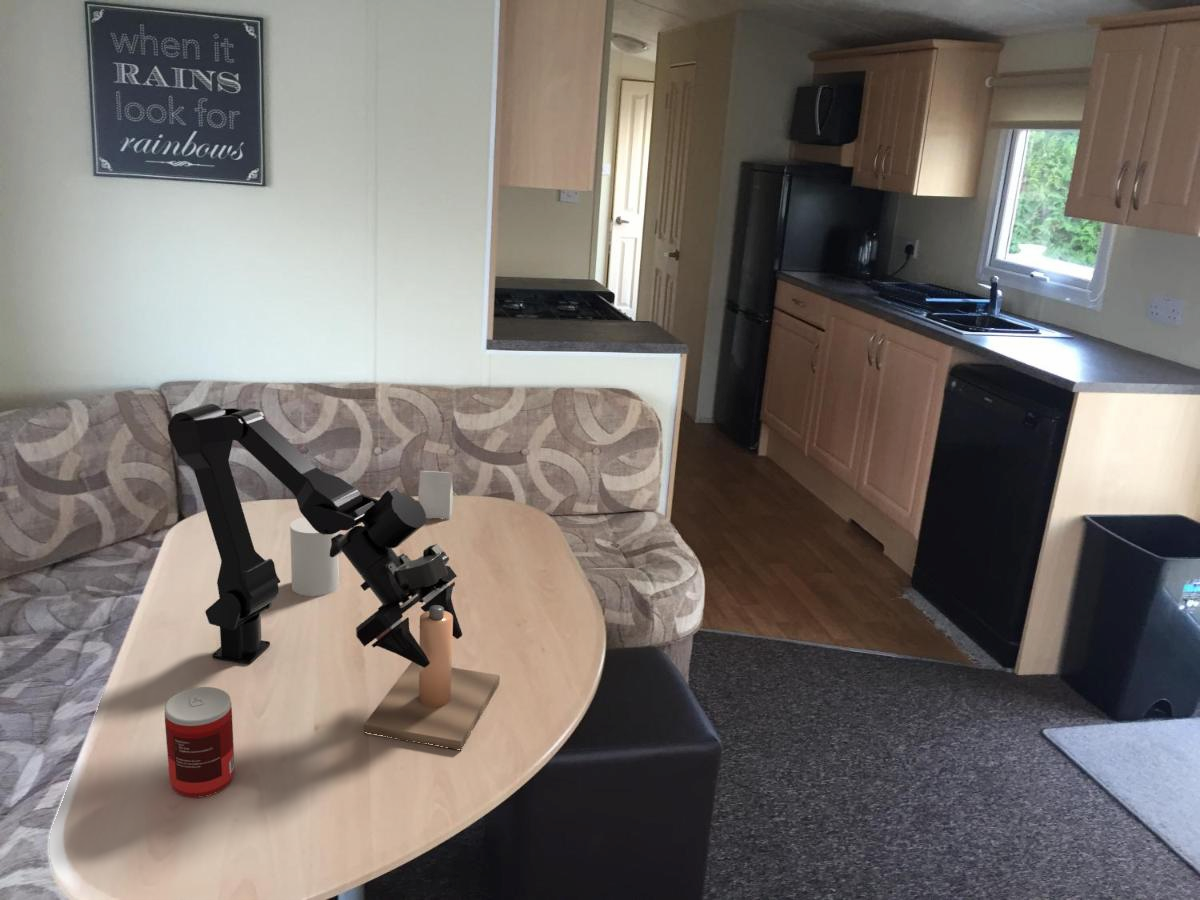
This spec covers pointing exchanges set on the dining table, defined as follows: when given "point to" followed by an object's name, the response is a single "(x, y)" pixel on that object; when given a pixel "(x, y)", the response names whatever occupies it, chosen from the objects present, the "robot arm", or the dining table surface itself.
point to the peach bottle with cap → (436, 657)
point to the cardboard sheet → (433, 709)
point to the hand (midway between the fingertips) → (444, 651)
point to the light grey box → (436, 494)
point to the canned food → (199, 741)
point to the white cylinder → (312, 560)
